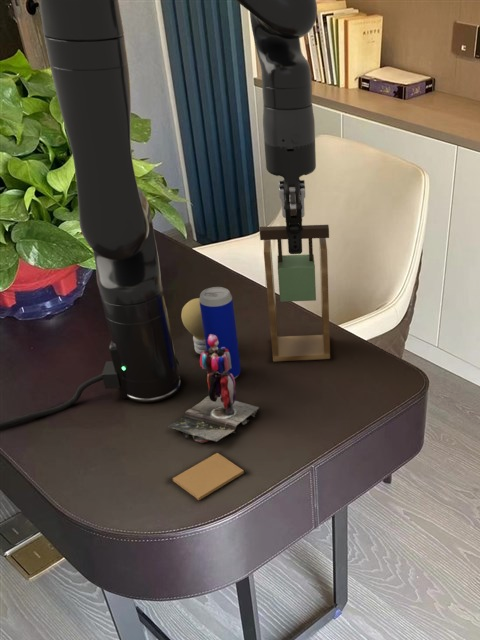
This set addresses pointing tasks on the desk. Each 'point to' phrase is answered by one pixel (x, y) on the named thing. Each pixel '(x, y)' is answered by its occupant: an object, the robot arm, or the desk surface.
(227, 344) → the beverage can
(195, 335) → the light bulb
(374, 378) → the desk surface
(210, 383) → the statue
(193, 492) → the mat
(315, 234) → the green block with crossbars
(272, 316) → the wooden frame
